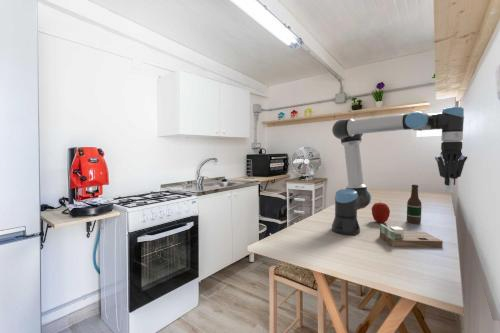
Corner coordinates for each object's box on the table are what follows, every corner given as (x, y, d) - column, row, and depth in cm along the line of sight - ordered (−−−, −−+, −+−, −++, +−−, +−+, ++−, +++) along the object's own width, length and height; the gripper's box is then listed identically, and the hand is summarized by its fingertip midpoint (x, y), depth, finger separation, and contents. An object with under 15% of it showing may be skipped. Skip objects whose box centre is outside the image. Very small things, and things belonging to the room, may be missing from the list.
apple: (391, 222, 154) (392, 200, 153) (386, 225, 147) (386, 203, 146) (374, 219, 162) (375, 198, 161) (368, 222, 155) (369, 200, 154)
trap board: (379, 236, 129) (379, 223, 129) (424, 237, 128) (425, 224, 127) (392, 246, 116) (392, 232, 116) (442, 247, 115) (443, 232, 114)
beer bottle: (419, 224, 148) (420, 186, 147) (404, 222, 154) (405, 184, 153) (422, 222, 154) (424, 184, 152) (408, 219, 159) (409, 183, 158)
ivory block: (389, 234, 125) (389, 226, 124) (398, 234, 124) (398, 226, 124) (394, 237, 120) (394, 229, 120) (403, 237, 120) (403, 229, 119)
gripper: (442, 141, 108) (440, 193, 110) (473, 141, 107) (470, 193, 109) (431, 141, 115) (429, 190, 117) (460, 141, 115) (457, 190, 116)
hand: (449, 192), depth 113 cm, fingers closed
